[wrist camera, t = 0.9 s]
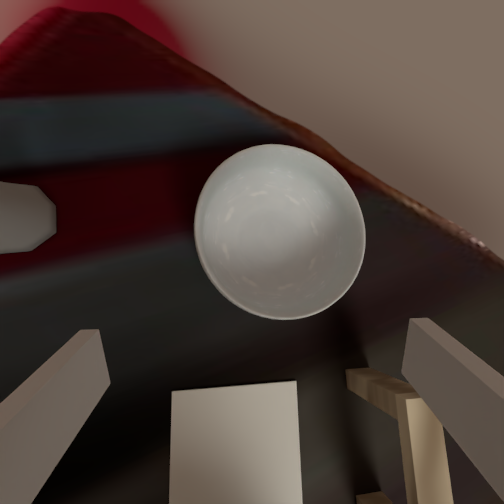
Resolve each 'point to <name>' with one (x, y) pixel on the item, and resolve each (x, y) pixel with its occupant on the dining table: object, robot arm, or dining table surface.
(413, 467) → the bridge
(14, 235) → the flask
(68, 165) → the dining table surface
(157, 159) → the dining table surface
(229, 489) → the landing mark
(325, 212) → the cereal bowl
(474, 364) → the robot arm
